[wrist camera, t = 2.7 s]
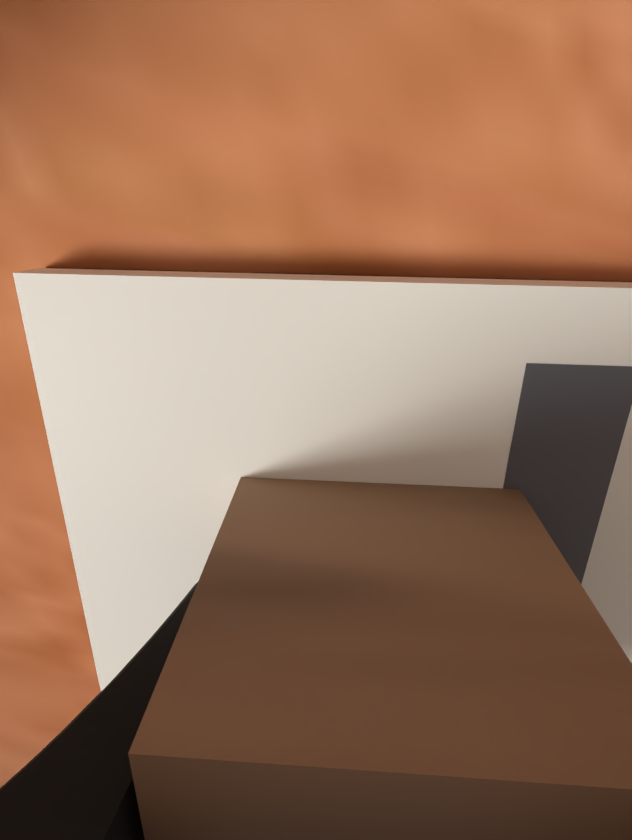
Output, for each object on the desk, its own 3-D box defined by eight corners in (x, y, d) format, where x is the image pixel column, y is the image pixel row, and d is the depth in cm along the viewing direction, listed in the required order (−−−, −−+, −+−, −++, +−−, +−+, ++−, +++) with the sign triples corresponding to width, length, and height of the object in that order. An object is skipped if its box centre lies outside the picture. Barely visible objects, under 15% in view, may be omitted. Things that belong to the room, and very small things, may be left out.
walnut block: (479, 690, 11) (581, 1053, 6) (249, 675, 11) (179, 1015, 6) (520, 489, 9) (715, 795, 4) (240, 477, 9) (128, 753, 4)
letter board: (590, 768, 13) (606, 803, 12) (130, 736, 13) (116, 768, 12) (762, 285, 8) (805, 292, 7) (42, 267, 9) (12, 272, 8)
